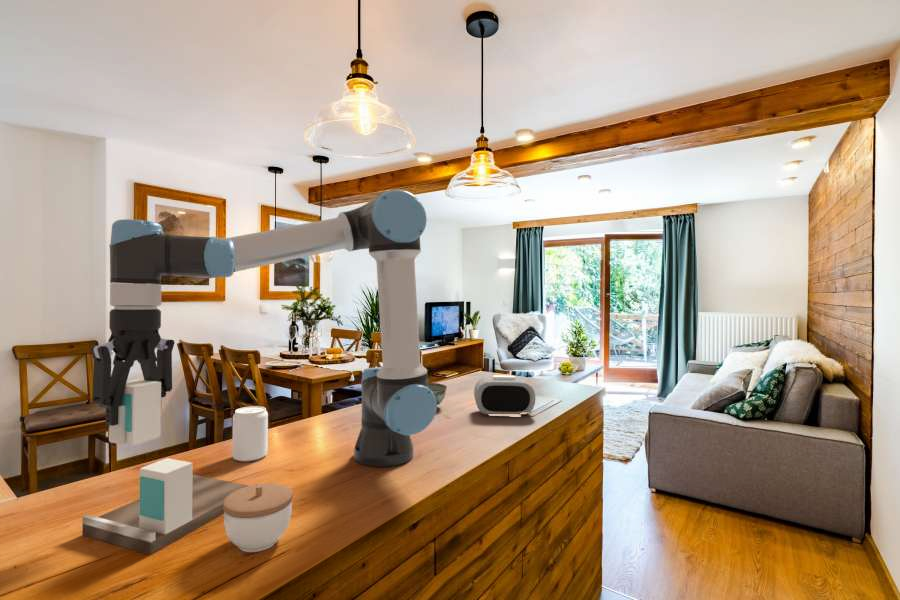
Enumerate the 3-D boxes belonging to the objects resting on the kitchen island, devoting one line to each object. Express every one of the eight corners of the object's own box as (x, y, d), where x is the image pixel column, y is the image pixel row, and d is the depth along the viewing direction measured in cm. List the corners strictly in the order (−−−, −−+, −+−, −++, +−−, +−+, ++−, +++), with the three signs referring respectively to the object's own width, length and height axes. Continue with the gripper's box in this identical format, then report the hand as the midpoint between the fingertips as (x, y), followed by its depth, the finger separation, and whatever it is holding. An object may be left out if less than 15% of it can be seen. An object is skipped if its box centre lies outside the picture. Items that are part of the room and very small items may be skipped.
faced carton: (166, 513, 80) (167, 458, 80) (192, 520, 78) (192, 462, 78) (137, 528, 75) (138, 468, 75) (164, 535, 73) (164, 474, 73)
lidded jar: (237, 526, 80) (238, 474, 80) (299, 524, 81) (299, 473, 81) (210, 562, 69) (211, 502, 69) (281, 560, 70) (282, 500, 70)
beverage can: (254, 464, 108) (254, 415, 108) (225, 461, 110) (225, 412, 110) (273, 452, 116) (274, 406, 116) (246, 450, 118) (246, 404, 118)
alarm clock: (475, 417, 153) (476, 378, 153) (473, 410, 162) (474, 373, 162) (535, 418, 153) (536, 379, 153) (530, 411, 163) (530, 374, 162)
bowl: (405, 411, 159) (405, 388, 159) (414, 402, 173) (414, 381, 173) (442, 413, 157) (443, 390, 157) (449, 404, 170) (449, 383, 170)
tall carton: (136, 432, 83) (137, 379, 83) (160, 436, 82) (161, 382, 81) (107, 441, 78) (108, 384, 78) (131, 445, 77) (132, 387, 76)
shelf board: (254, 496, 91) (254, 480, 91) (150, 555, 71) (150, 534, 71) (194, 484, 97) (194, 469, 97) (82, 535, 76) (82, 516, 76)
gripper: (167, 306, 90) (166, 421, 90) (63, 308, 72) (62, 451, 73) (196, 307, 87) (194, 426, 87) (95, 309, 70) (93, 457, 70)
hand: (134, 437), depth 80 cm, fingers closed on tall carton, 5 cm apart
